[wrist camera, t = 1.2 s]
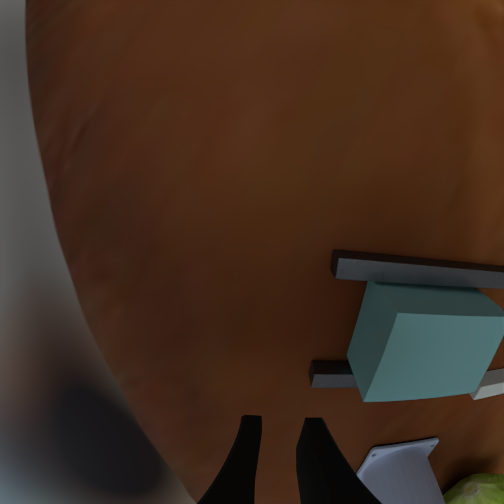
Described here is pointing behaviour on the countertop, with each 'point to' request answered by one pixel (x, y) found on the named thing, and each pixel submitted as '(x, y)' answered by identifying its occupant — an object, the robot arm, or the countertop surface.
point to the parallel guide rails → (397, 272)
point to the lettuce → (477, 490)
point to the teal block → (423, 341)
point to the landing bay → (490, 384)
